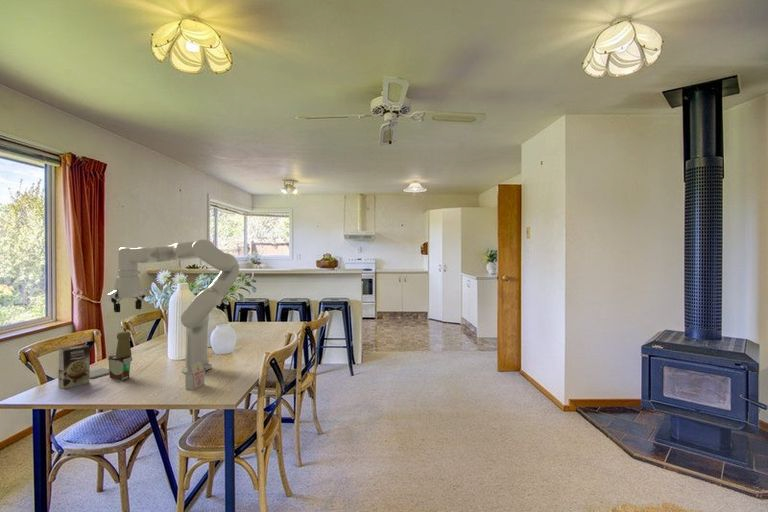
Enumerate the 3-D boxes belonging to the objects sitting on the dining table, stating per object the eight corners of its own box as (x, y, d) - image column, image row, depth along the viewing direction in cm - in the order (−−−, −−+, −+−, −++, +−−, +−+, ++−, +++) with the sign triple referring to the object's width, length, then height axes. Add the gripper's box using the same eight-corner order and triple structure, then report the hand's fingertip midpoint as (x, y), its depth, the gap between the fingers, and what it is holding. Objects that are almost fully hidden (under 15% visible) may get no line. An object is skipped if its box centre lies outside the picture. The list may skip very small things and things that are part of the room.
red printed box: (185, 389, 152) (185, 365, 152) (197, 383, 159) (197, 361, 159) (192, 390, 151) (193, 366, 151) (204, 384, 158) (204, 361, 158)
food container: (138, 377, 165) (138, 355, 165) (124, 382, 160) (124, 359, 160) (122, 373, 171) (122, 352, 171) (107, 377, 165) (107, 355, 165)
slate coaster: (115, 372, 172) (115, 370, 172) (91, 379, 163) (91, 377, 163) (102, 369, 177) (102, 367, 177) (78, 375, 167) (78, 374, 167)
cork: (123, 358, 162) (123, 333, 162) (111, 357, 163) (112, 332, 163) (134, 354, 168) (135, 330, 168) (123, 353, 169) (123, 330, 169)
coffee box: (63, 389, 151) (63, 350, 151) (57, 386, 154) (58, 348, 154) (90, 382, 159) (90, 345, 159) (84, 380, 162) (84, 343, 162)
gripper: (140, 272, 179) (140, 307, 179) (102, 274, 163) (102, 312, 163) (151, 273, 176) (151, 308, 177) (113, 275, 160) (113, 313, 160)
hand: (128, 310), depth 170 cm, fingers open, 9 cm apart
